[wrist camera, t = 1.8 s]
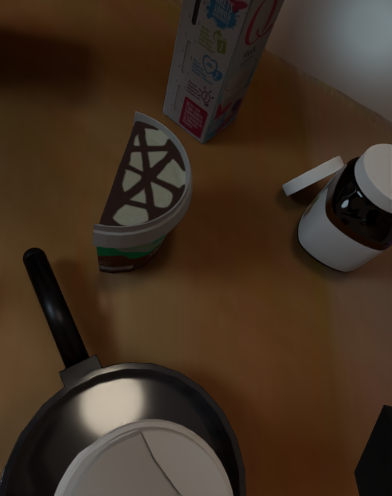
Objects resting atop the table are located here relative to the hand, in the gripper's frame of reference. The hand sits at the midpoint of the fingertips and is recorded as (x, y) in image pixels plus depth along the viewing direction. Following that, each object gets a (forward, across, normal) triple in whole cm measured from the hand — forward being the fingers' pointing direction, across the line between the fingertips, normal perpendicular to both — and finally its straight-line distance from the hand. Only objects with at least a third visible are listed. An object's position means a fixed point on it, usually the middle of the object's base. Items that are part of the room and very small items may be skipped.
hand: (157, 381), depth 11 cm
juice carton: (+38, -8, +7) cm, 40 cm away
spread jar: (+33, +9, -3) cm, 34 cm away
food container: (+23, -8, -5) cm, 25 cm away
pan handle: (+15, -12, -10) cm, 22 cm away
